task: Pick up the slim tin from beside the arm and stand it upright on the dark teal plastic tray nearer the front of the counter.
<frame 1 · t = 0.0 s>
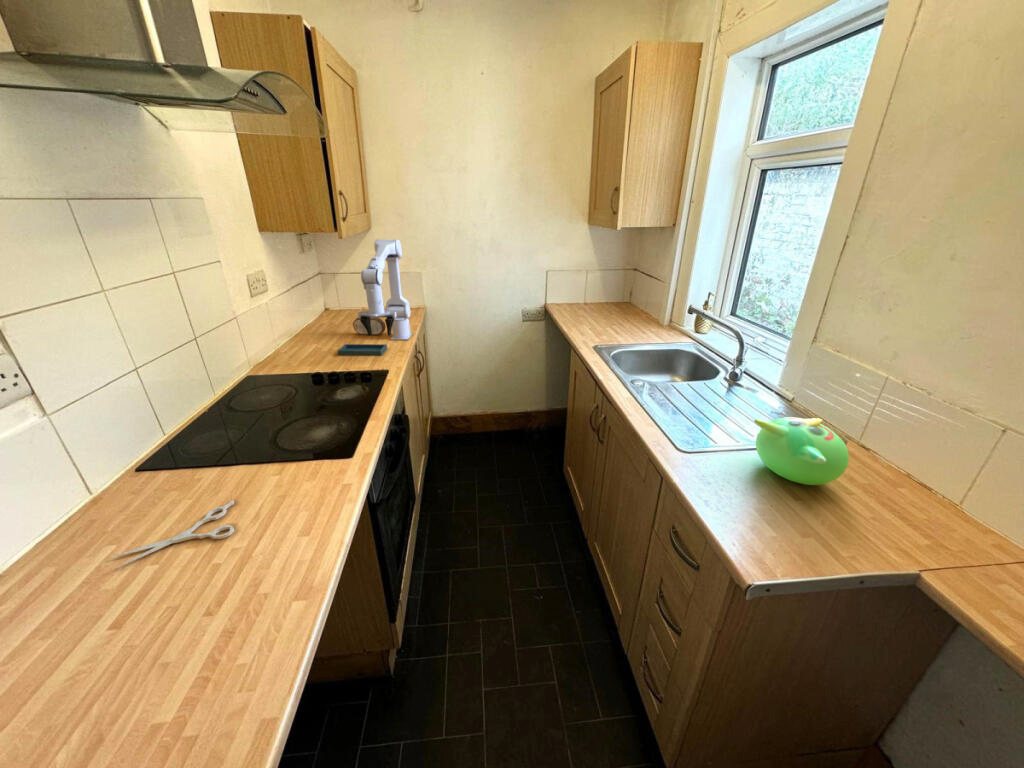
hand: (379, 335, 164), 10 cm above the table, tool pointing down, fingers open, 7 cm apart
scissors: (179, 539, 80), on the table
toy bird: (789, 475, 99), on the table
tin: (370, 334, 198), on the table
tray: (363, 352, 176), on the table
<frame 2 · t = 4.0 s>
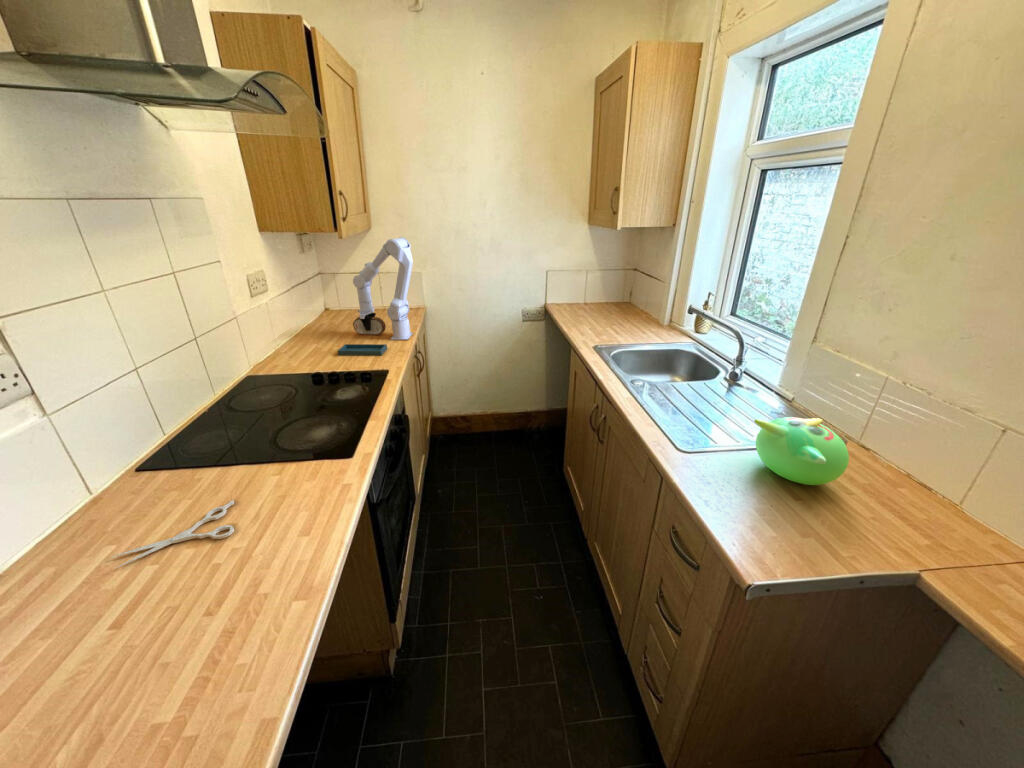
hand: (369, 329, 197), 2 cm above the table, tool pointing down, fingers closed on tin, 3 cm apart
tin: (370, 334, 198), on the table, touching gripper
everything else where it was.
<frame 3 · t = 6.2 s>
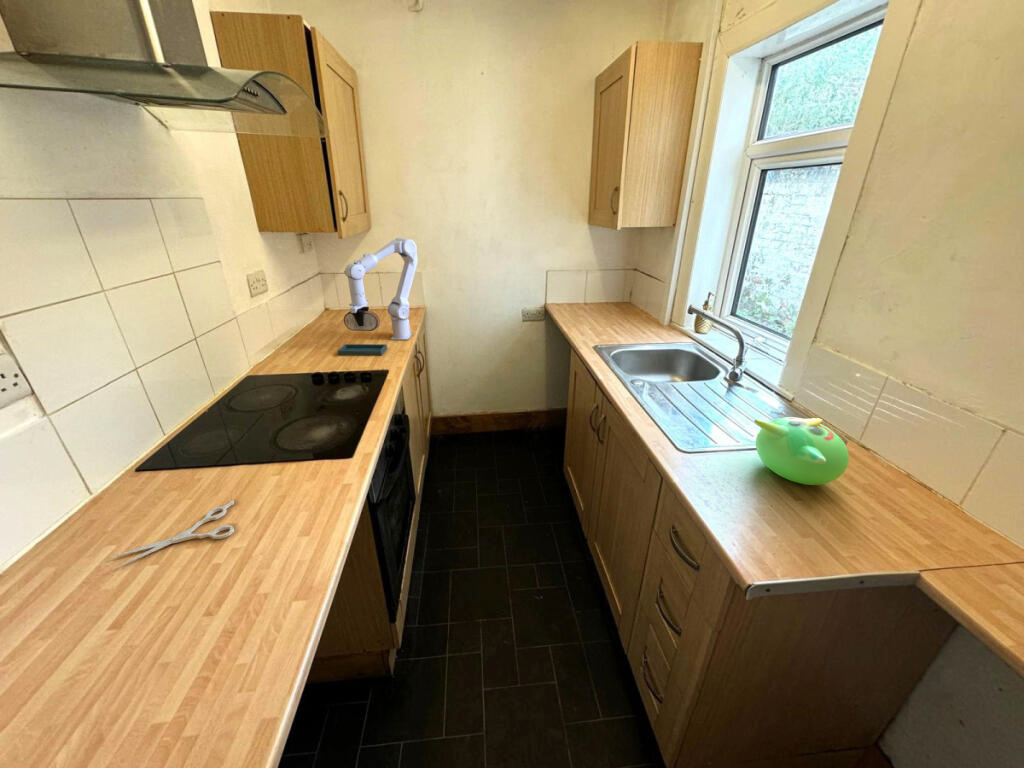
hand: (362, 325, 179), 9 cm above the table, tool pointing down, fingers closed on tin, 2 cm apart
tin: (362, 331, 180), point 7 cm above the table, touching gripper
everything else where it was.
when the fingers open (3 cm above the table, at t = 8.7 s): tin stays where it is, resting on tray.
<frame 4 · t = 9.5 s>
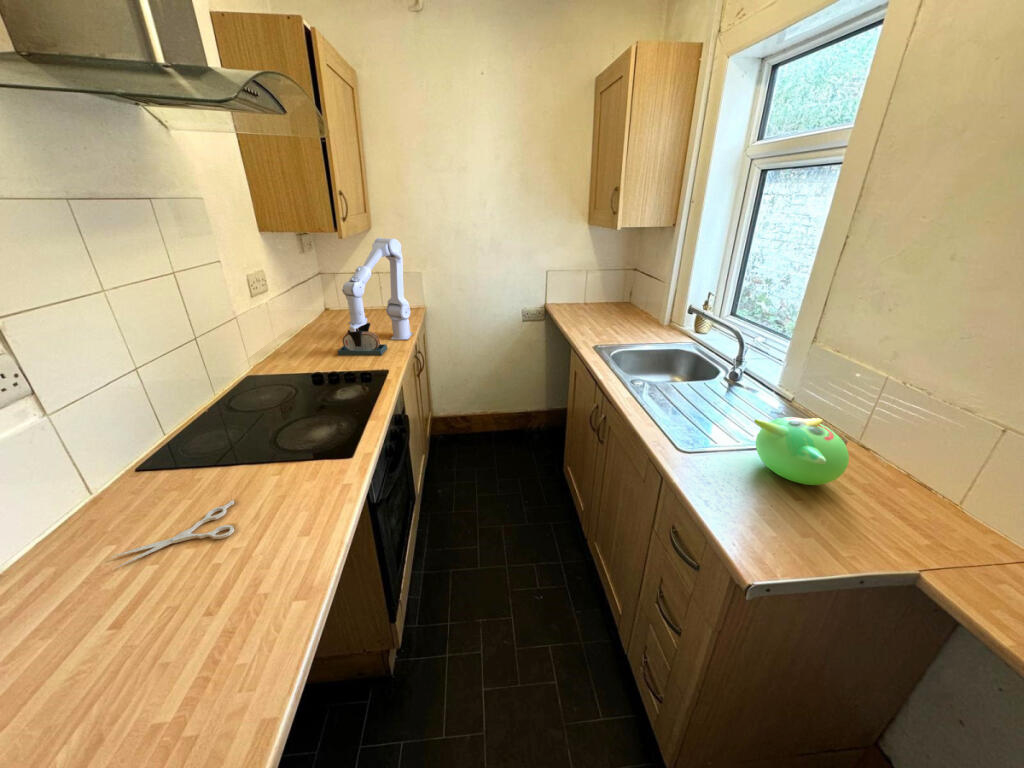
hand: (361, 343, 174), 4 cm above the table, tool pointing down, fingers open, 7 cm apart
tin: (362, 351, 175), resting on tray
everything else where it was.
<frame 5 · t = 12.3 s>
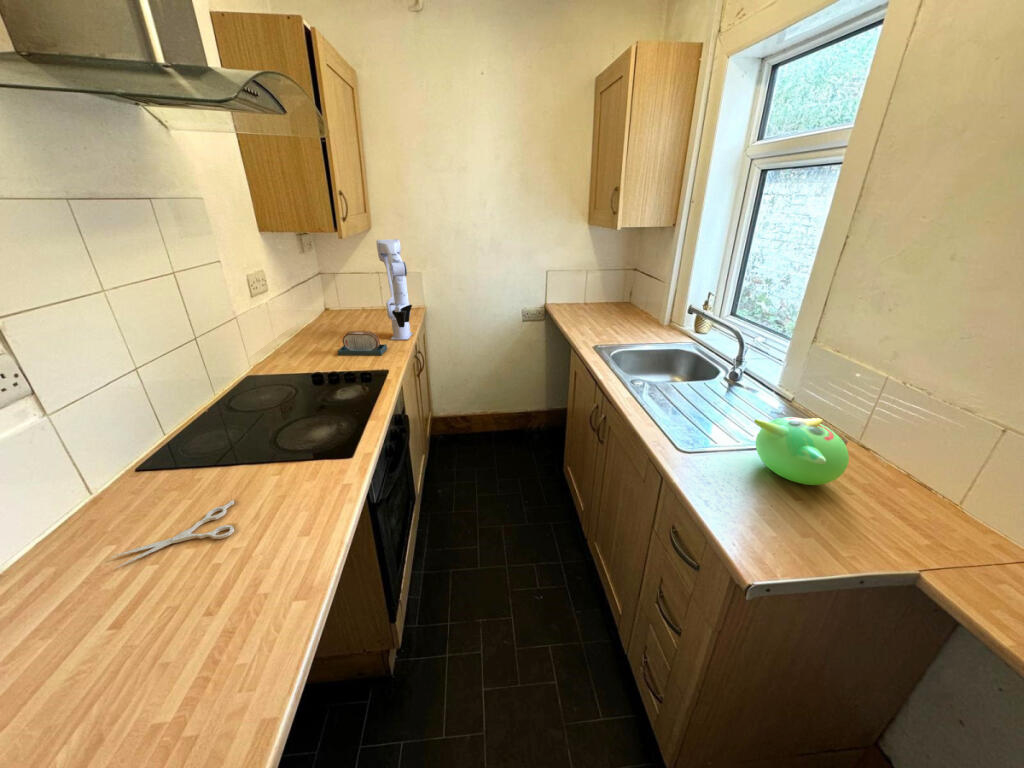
hand: (404, 324, 176), 10 cm above the table, tool pointing down, fingers open, 7 cm apart
nothing on the table moved.
at the end: tin inside the target area in the tray (0.3 cm from its centre), point 0.3 cm above the tray's base; tin tilted 0°; the gripper is holding nothing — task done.
